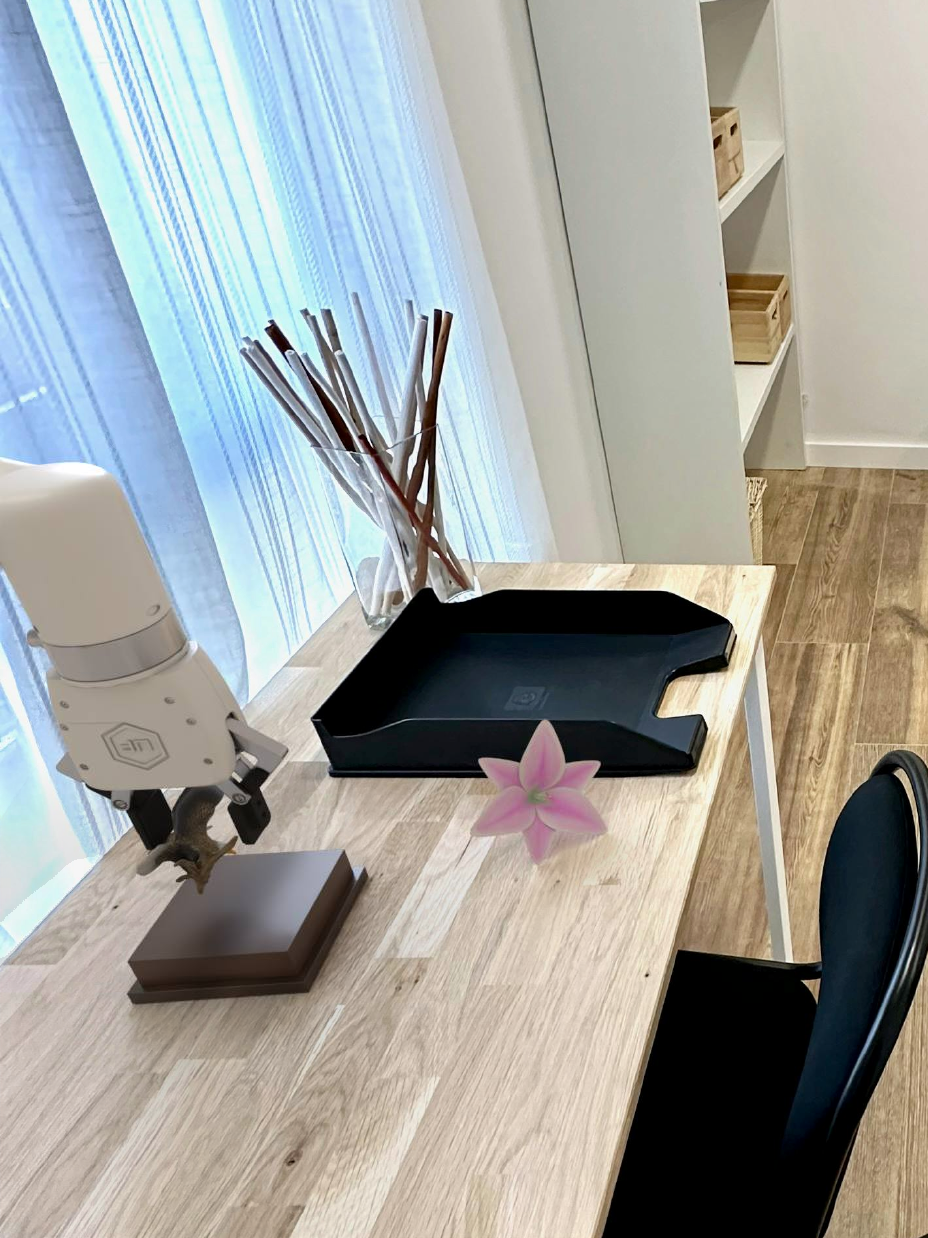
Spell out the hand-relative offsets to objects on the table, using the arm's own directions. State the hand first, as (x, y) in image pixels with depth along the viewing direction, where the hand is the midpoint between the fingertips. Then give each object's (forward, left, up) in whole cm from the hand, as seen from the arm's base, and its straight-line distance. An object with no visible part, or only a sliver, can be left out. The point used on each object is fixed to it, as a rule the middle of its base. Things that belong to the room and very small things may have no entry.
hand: (210, 833), depth 85 cm
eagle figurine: (-1, 0, -3) cm, 3 cm away
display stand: (0, 0, -11) cm, 11 cm away
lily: (+21, +11, -12) cm, 26 cm away
